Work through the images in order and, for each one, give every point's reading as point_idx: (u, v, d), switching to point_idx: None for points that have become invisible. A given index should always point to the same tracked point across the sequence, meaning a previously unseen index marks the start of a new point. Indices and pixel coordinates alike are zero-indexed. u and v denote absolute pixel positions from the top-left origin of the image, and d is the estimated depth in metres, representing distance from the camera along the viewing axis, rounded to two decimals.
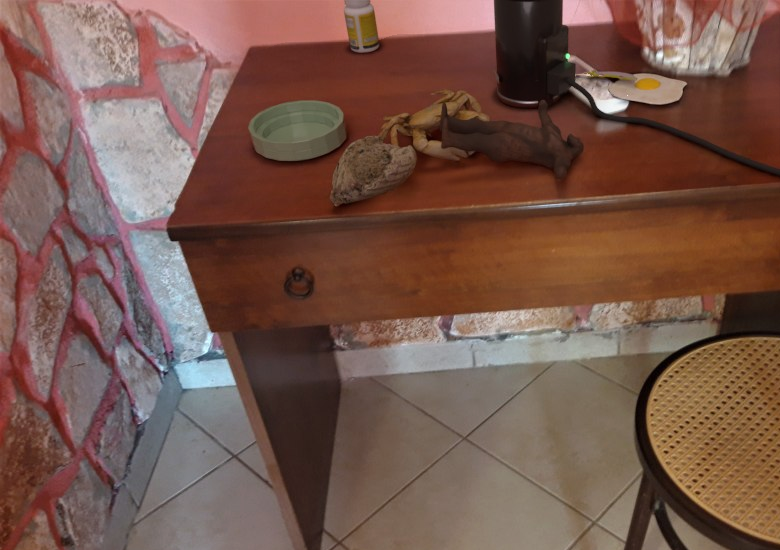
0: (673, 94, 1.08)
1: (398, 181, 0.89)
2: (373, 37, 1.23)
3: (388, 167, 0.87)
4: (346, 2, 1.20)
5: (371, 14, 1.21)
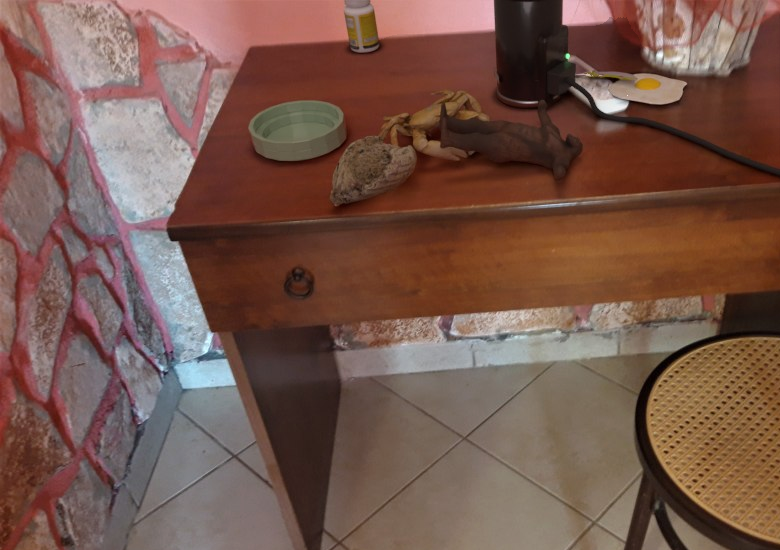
0: (673, 93, 1.08)
1: (398, 181, 0.89)
2: (373, 37, 1.23)
3: (388, 167, 0.87)
4: (346, 2, 1.20)
5: (371, 14, 1.21)
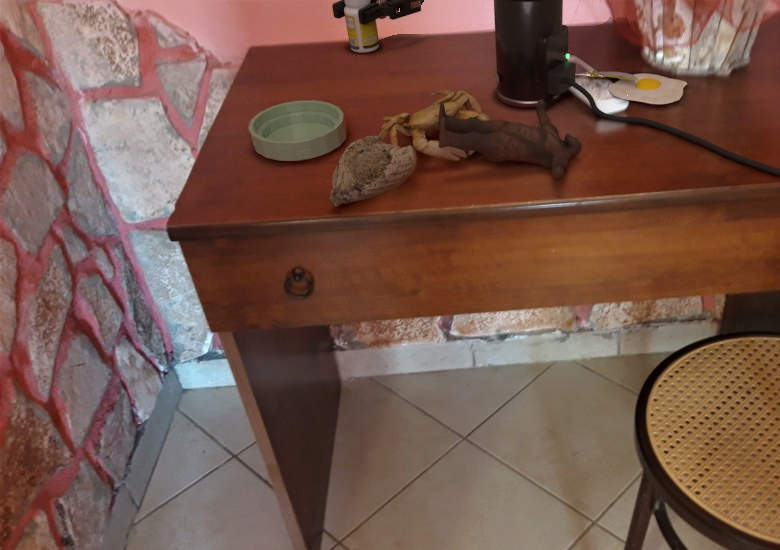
0: (674, 93, 1.08)
1: (398, 181, 0.89)
2: (373, 37, 1.23)
3: (388, 167, 0.87)
4: (346, 2, 1.20)
5: None
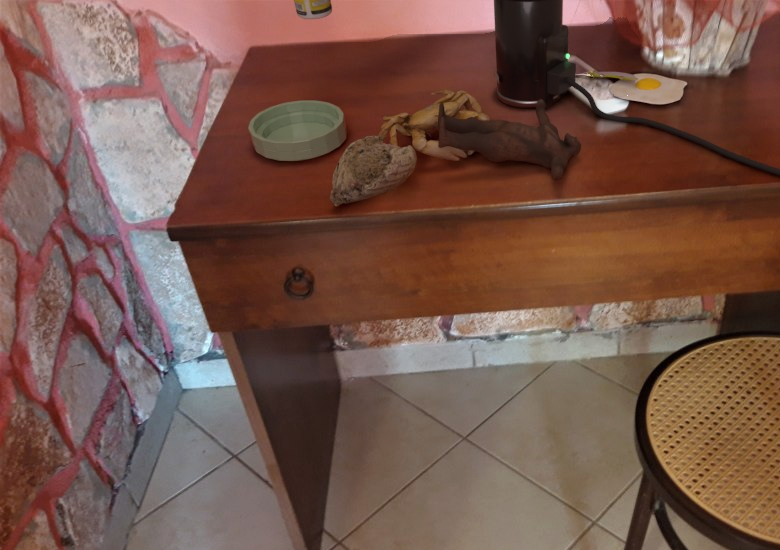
0: (674, 93, 1.08)
1: (398, 181, 0.89)
2: (323, 0, 1.02)
3: (388, 167, 0.87)
4: None
5: None
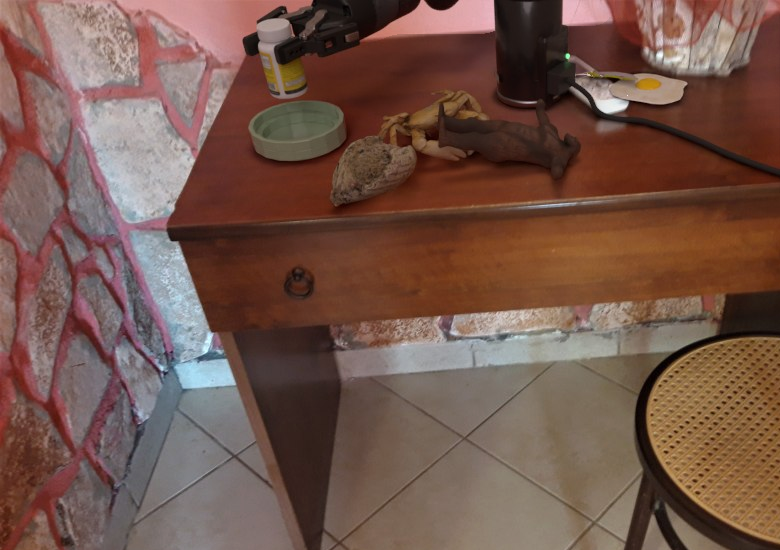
0: (674, 93, 1.08)
1: (398, 181, 0.89)
2: (297, 79, 0.95)
3: (388, 167, 0.87)
4: (259, 36, 0.92)
5: None
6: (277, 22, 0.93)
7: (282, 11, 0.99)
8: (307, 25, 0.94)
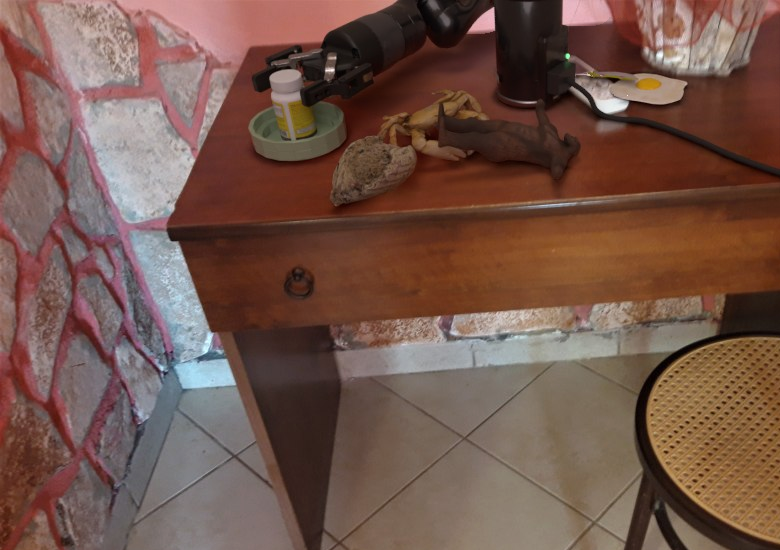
0: (674, 93, 1.08)
1: (398, 181, 0.89)
2: (308, 127, 1.00)
3: (388, 167, 0.87)
4: (272, 87, 0.96)
5: None
6: (289, 73, 0.97)
7: (294, 50, 1.03)
8: (326, 68, 0.97)
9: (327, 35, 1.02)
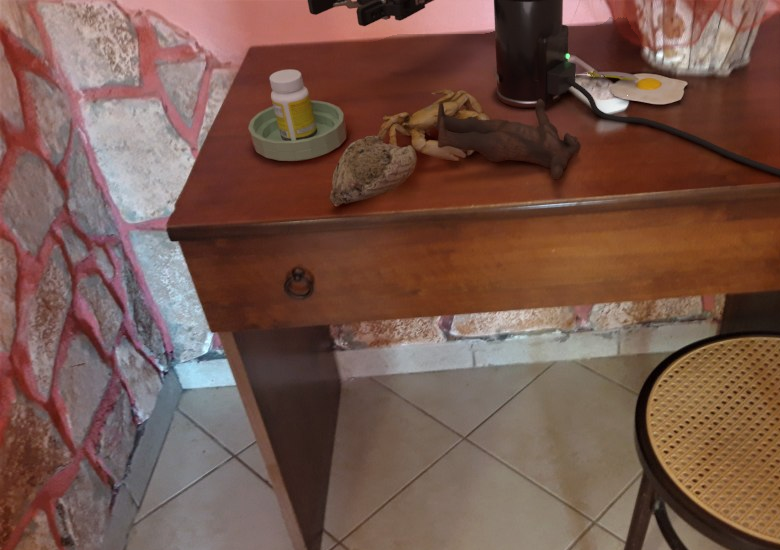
0: (675, 93, 1.08)
1: (398, 181, 0.89)
2: (308, 127, 1.00)
3: (388, 167, 0.87)
4: (272, 87, 0.96)
5: (304, 101, 0.97)
6: (289, 73, 0.97)
7: None
8: None
9: None
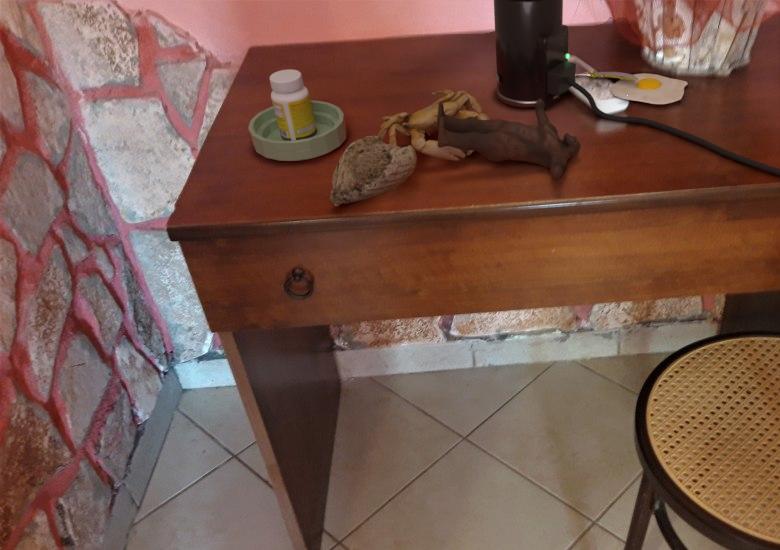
0: (675, 93, 1.08)
1: (398, 181, 0.89)
2: (308, 127, 1.00)
3: (388, 167, 0.87)
4: (272, 87, 0.96)
5: (304, 101, 0.97)
6: (289, 73, 0.97)
7: None
8: None
9: None
